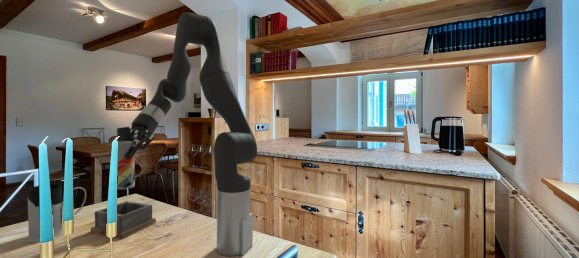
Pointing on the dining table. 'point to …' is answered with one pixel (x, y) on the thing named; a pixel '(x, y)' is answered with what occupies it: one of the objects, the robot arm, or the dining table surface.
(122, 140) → the lotion bottle
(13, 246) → the dining table surface
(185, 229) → the dining table surface
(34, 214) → the grey mug
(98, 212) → the dark grey open box
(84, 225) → the dining table surface
